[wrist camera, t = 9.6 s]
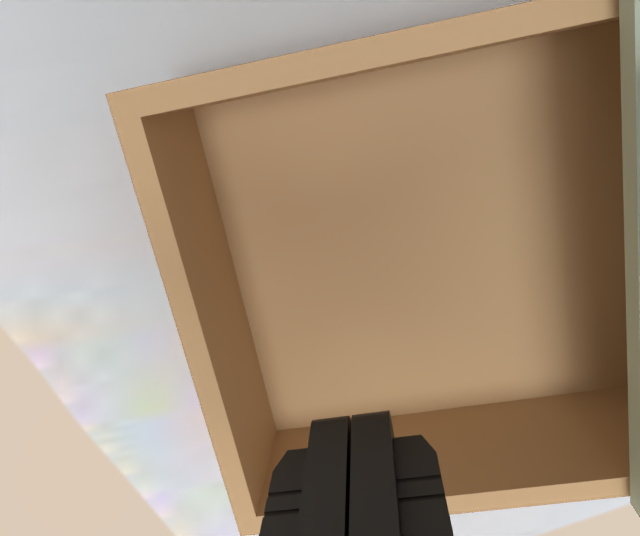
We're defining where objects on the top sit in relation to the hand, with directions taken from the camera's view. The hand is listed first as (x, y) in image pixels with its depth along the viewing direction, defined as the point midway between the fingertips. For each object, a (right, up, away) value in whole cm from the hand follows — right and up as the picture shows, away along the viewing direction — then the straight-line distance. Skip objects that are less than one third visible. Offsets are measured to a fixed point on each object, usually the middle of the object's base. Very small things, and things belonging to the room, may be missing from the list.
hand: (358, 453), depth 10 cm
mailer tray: (+5, +5, +12) cm, 13 cm away
